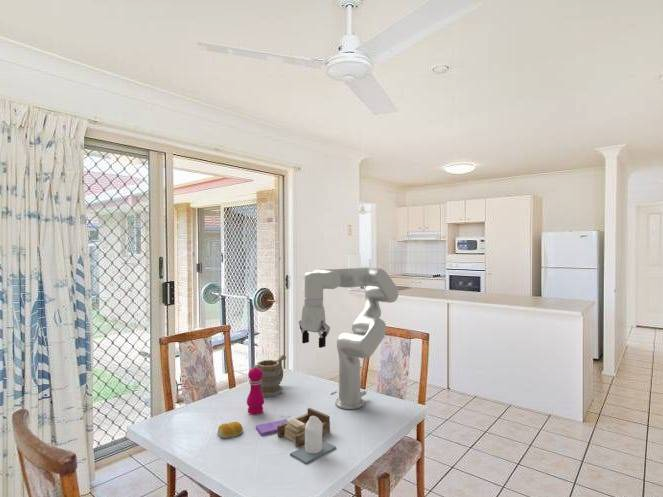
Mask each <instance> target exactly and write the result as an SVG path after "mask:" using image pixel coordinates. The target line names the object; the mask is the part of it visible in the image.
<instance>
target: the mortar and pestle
mask: <svg viewBox="0 0 663 497" xmlns="http://www.w3.org/2000/svg"><path fill="white" fill-rule="evenodd" d="M286 359H287V356H285V355H284V354H281V356H280V357H278V358H277V359H276V360H274V359H266V360H264V359H263V360H261V361H258V362H257V363H256V365H257V366H258V367H257V368H259V369H261V370H262V372H263V376H262V378H261V382H262V383H261V384H260V389H261V392H262V395H263V397H264V398H269V397H270V398H272V397H276V396H278V395H280V394H282V393H283V389H282V385H281V382H282V381H283V377H284V370H283V362H282V361H285V360H286Z"/></svg>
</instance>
